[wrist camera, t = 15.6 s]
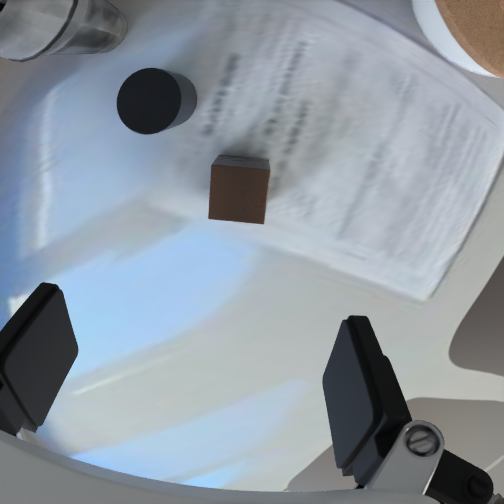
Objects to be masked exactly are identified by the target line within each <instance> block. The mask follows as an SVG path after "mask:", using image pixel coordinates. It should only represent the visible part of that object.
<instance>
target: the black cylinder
mask: <svg viewBox="0 0 504 504" xmlns="http://www.w3.org/2000/svg"><path fill="white" fill-rule="evenodd" d="M196 104H197V93H196V90H195V87H194V85H193V84H192V83H191V81H190V80H189V79H187V78H186V77H184V76H182V75H180V74H176V73H173V72H169V71H165V70H162V69H157V68H146V69H142V70H139V71H137V72H135V73H133V74H132V75H131V76H129V77H128V78H127V79H126V80H125V82H124V83H123V84H122V86H121V88H120V90H119V93H118V97H117V110H118V114H119V116H120V119H121V120H122V122H123V123H124V124H125V125H126V126H127V127H128V128H129V129H130V130H132V131H134V132H136V133H139V134H155V133H158V132H161V131H164V130H166V129H169V128H172V127H175V126H177V125H180V124H182V123H184V122H185V121H186V120H188V119H189V118H190V116H191V115H192V114H193V112H194V110H195V108H196Z"/></svg>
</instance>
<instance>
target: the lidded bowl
mask: <svg viewBox="0 0 504 504" xmlns="http://www.w3.org/2000/svg"><path fill="white" fill-rule="evenodd" d="M411 2H412V8H413V12H414V15H415V18H416V20H417V23H418V25H419V27H420V29H421V31H422V32H423V34H424V35H425V37H426V38H427V40H428V41H429V42H430V43H431V44H432V46H433V47H434V48H435V49H436V50H437V51H438V52H439V53H440V54H441V55H443V56H444V57H445V58H446V59H448V60H449V61H451V62H452V63H454V64H456V65H457V66H459V67H461V68H463V69H465V70H468V71H470V72H473V73H477V74H480V75H484V76H489V77H497V78H503V79H504V0H411Z"/></svg>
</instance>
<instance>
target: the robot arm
mask: <svg viewBox="0 0 504 504" xmlns="http://www.w3.org/2000/svg"><path fill="white" fill-rule="evenodd" d="M77 355H78V345H77V342H76V338H75V335H74V332H73V328H72V325H71V321H70V318H69V314H68V310H67V307H66V303H65V299H64V295H63V292H62V290H60V289H59V287H58V285H56V284H51V283H45V282H43V283H41V284H40V285H39V286H38V287H37V288H36V289H35V291H34V292H33V293H32V294H31V295H30V296H29V297H28V299H27V300H26V301H25V302H24V303H23V304H22V306H21V307H20V308H19V309H18V310H17V311H16V313H15V314H14V315H13V316H12V318H11V319H10V320H9V321H8V322H7V324H6V325H5V326H4V327H3V329H2V330H1V331H0V504H504V498H502V496H501V495H500V494H499V493H498V494H497V495H494V494H493V482H492V480H491V478H490V476H489V475H488V474H487V473H486V472H485V471H483V470H482V469H480V468H478V467H476V466H474V465H472V464H471V463H469V462H467V461H465V460H463V459H461V458H460V457H458V456H456V455H454V454H452V453H451V452H449V451H447V450H445V449H444V445H445V443H444V437H443V435H442V433H441V431H440V430H439V429H438V428H437V427H436V426H435V425H433V424H432V423H430V422H427V421H423V420H415V421H412V418H411V415H410V412H409V410H408V407H407V404H406V402H405V399H404V396H403V394H402V391H401V388H400V386H399V383H398V381H397V378H396V375H395V373H394V370H393V368H392V365H391V363H390V361H389V359H388V357H387V356H385V355H383V353H382V350H381V348H380V345H379V343H378V340H377V338H376V336H375V333H374V331H373V328H372V326H371V324H370V321H369V319H368V317H367V316H354V315H350V316H349V317H348V319H347V320H343V321H342V323H341V326H340V329H339V332H338V335H337V338H336V341H335V344H334V347H333V350H332V352H331V355H330V358H329V361H328V364H327V366H326V369H325V372H324V375H323V390H324V395H325V401H326V406H327V412H328V418H329V424H330V430H331V436H332V442H333V448H334V454H335V460H336V465H337V467H338V468H342V473H343V476H351V475H354V478H355V482H356V483H357V484H356V486H355V487H354V489H352V490H351V489H350V490H331V491H311V492H261V491H239V490H226V489H215V488H205V487H197V486H189V485H182V484H176V483H170V482H164V481H158V480H153V479H148V478H143V477H138V476H134V475H129V474H125V473H121V472H117V471H113V470H109V469H106V468H102V467H98V466H95V465H92V464H88V463H85V462H82V461H78V460H75V459H72V458H69V457H66V456H63V455H61V454H58V453H55V452H52V451H50V450H47V449H44V448H42V447H39V446H37V445H34V444H32V443H29V442H27V441H25V440H22V438H21V434H20V429H21V427H23V428H24V429H27V430H29V431H32V432H34V433H36V430H37V428H38V426H41V425H42V424H43V423H44V420H45V418H46V416H47V414H48V412H49V410H50V408H51V406H52V404H53V402H54V400H55V398H56V396H57V394H58V392H59V390H60V388H61V386H62V384H63V382H64V380H65V378H66V376H67V374H68V372H69V370H70V369H71V367H72V365H73V363H74V361H75V359H76V357H77Z"/></svg>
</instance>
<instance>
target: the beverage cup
mask: <svg viewBox="0 0 504 504" xmlns="http://www.w3.org/2000/svg"><path fill="white" fill-rule="evenodd" d="M126 32H127V21H126V18H125V17H124V16H123V14H121V13H120V12H119V11H118V9H117V8H115V7H114V6H113V5H112V4H110V3H109V2H108V1H106V0H0V56H1V57H4V58H8V59H10V60H12V61H19V62H25V61H28V60H31V59H35V58H38V57H42V56H45V55H54V54H95V53H105V52H109V51H111V50H113V49H115V48H116V47H117V46H118V45H119V44H120V43H121V42H122V40H123V39H124V37H125V35H126Z"/></svg>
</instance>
